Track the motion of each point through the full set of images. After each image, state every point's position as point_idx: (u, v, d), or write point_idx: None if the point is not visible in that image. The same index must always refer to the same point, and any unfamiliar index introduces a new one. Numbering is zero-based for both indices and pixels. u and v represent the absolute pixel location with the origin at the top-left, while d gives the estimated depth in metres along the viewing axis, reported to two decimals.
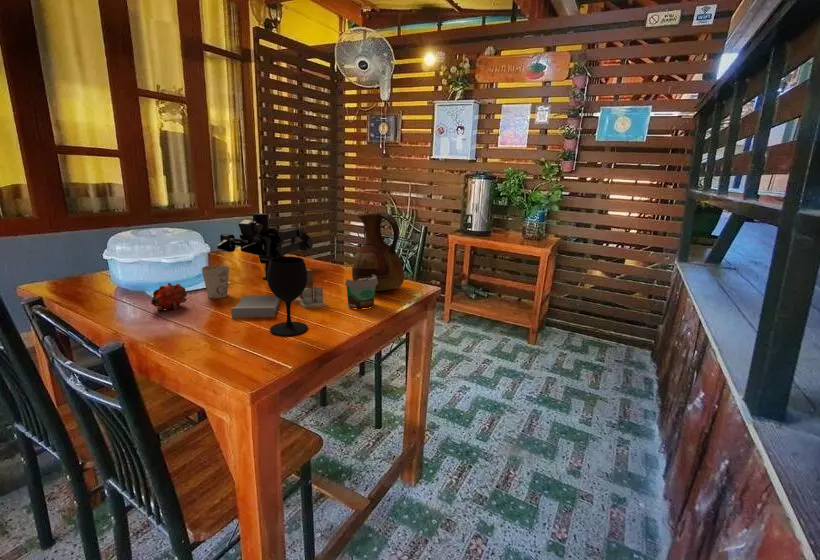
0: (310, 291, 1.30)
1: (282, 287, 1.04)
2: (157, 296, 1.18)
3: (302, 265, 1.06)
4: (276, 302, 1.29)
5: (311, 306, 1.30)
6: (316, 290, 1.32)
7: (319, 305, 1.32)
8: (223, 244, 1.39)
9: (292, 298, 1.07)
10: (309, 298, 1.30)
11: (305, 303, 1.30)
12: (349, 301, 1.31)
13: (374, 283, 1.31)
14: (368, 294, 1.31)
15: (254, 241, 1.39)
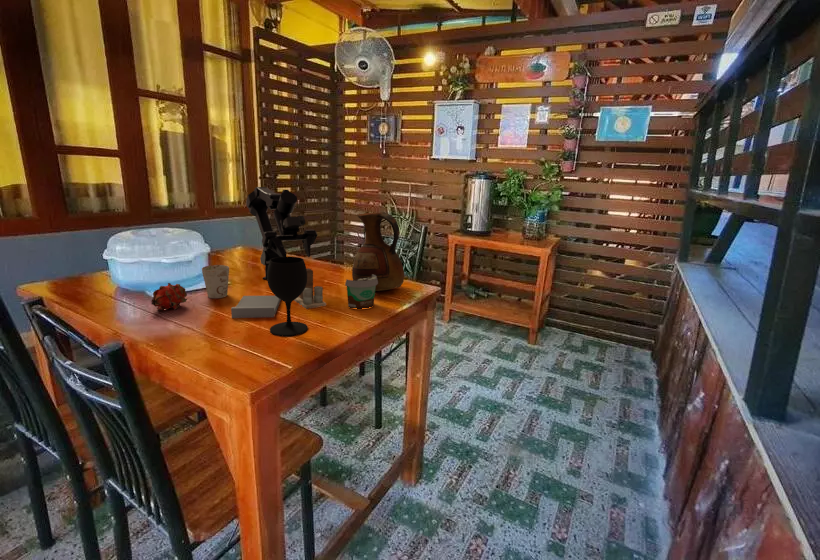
0: (310, 291, 1.30)
1: (283, 287, 1.04)
2: (157, 296, 1.18)
3: (302, 265, 1.06)
4: (276, 302, 1.29)
5: (311, 306, 1.30)
6: (316, 290, 1.32)
7: (319, 305, 1.32)
8: None
9: (292, 298, 1.07)
10: (309, 298, 1.30)
11: (305, 303, 1.30)
12: (349, 301, 1.31)
13: (374, 283, 1.31)
14: (368, 294, 1.31)
15: (308, 239, 1.44)
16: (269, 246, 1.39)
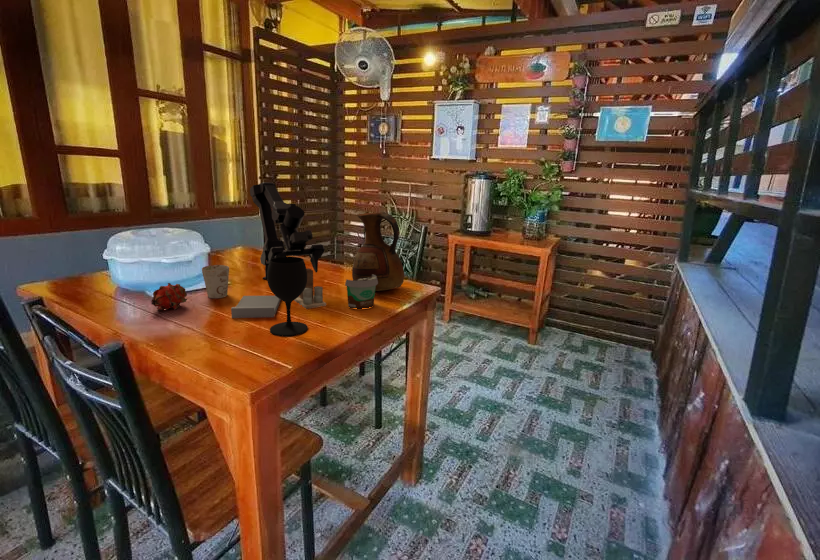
0: (310, 291, 1.30)
1: (283, 287, 1.04)
2: (157, 296, 1.18)
3: (302, 265, 1.06)
4: (276, 302, 1.29)
5: (311, 306, 1.30)
6: (316, 290, 1.32)
7: (319, 305, 1.32)
8: None
9: (292, 298, 1.07)
10: (309, 298, 1.30)
11: (305, 303, 1.30)
12: (349, 301, 1.31)
13: (374, 283, 1.31)
14: (368, 294, 1.31)
15: (316, 254, 1.40)
16: None
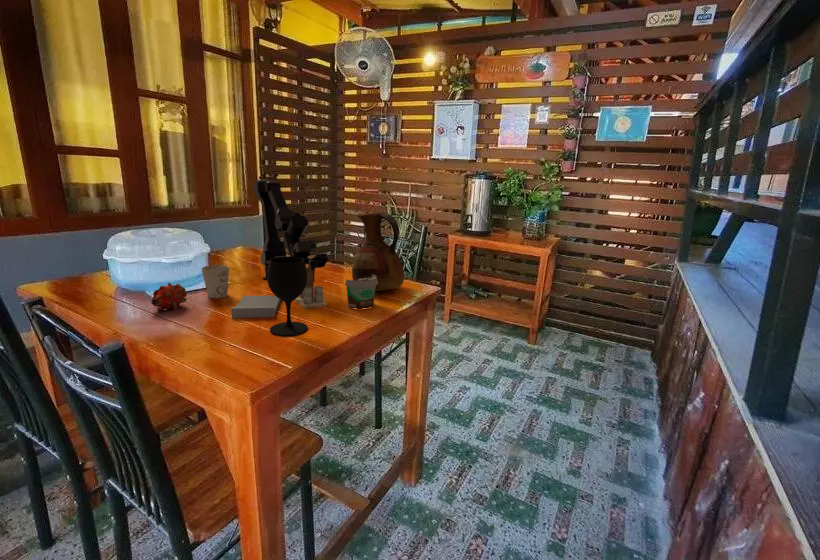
0: (310, 291, 1.30)
1: (283, 287, 1.04)
2: (157, 296, 1.18)
3: (302, 265, 1.06)
4: (276, 302, 1.29)
5: (311, 306, 1.30)
6: (316, 290, 1.32)
7: (319, 305, 1.32)
8: None
9: (292, 298, 1.07)
10: (309, 298, 1.30)
11: (305, 303, 1.30)
12: (349, 301, 1.31)
13: (374, 283, 1.31)
14: (368, 294, 1.31)
15: (312, 264, 1.37)
16: None
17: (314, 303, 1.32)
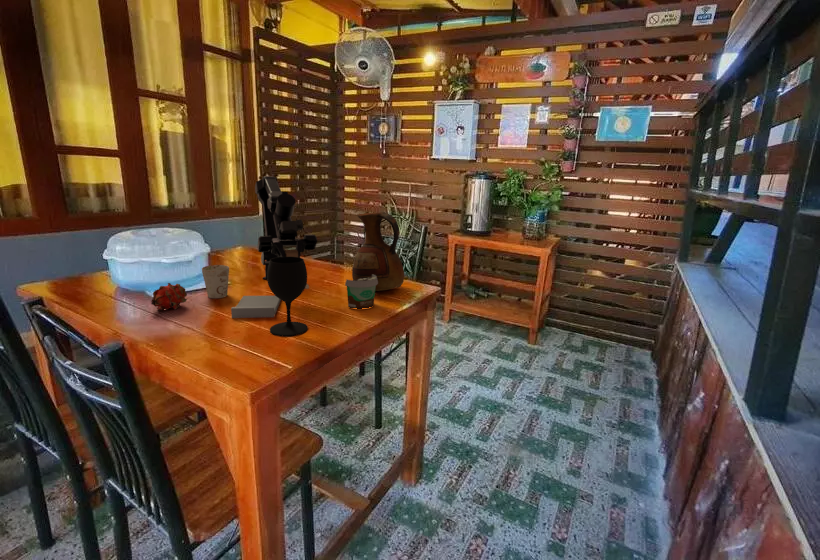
0: None
1: (283, 287, 1.04)
2: (157, 296, 1.18)
3: (302, 265, 1.06)
4: (276, 302, 1.29)
5: None
6: None
7: None
8: None
9: (292, 298, 1.07)
10: None
11: None
12: (349, 301, 1.31)
13: (374, 283, 1.31)
14: (368, 294, 1.31)
15: (299, 245, 1.33)
16: (273, 251, 1.32)
17: None
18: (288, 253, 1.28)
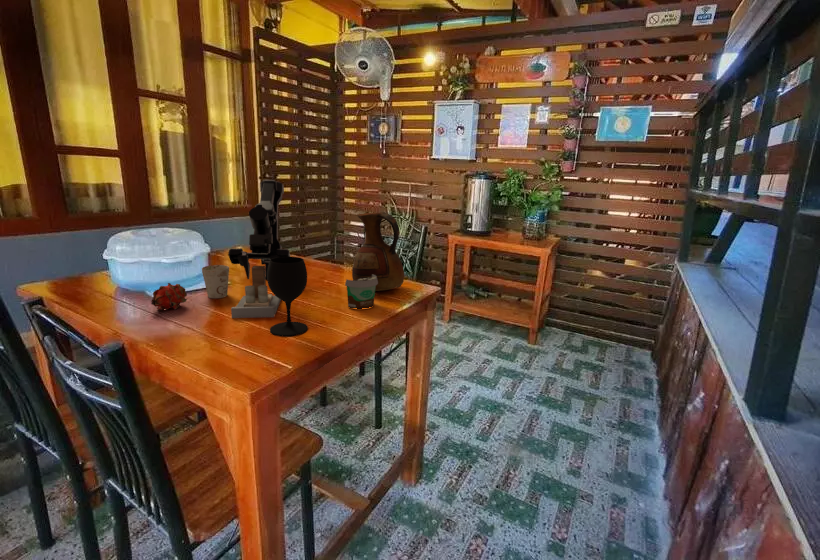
0: (250, 289, 1.23)
1: (283, 287, 1.04)
2: (157, 296, 1.18)
3: (302, 265, 1.06)
4: (276, 302, 1.29)
5: (250, 305, 1.23)
6: (258, 289, 1.24)
7: (259, 305, 1.24)
8: (248, 270, 1.28)
9: (292, 298, 1.07)
10: (249, 296, 1.24)
11: (246, 301, 1.24)
12: (349, 301, 1.31)
13: (374, 283, 1.31)
14: (368, 294, 1.31)
15: None
16: (241, 263, 1.31)
17: (255, 303, 1.25)
18: (253, 269, 1.27)
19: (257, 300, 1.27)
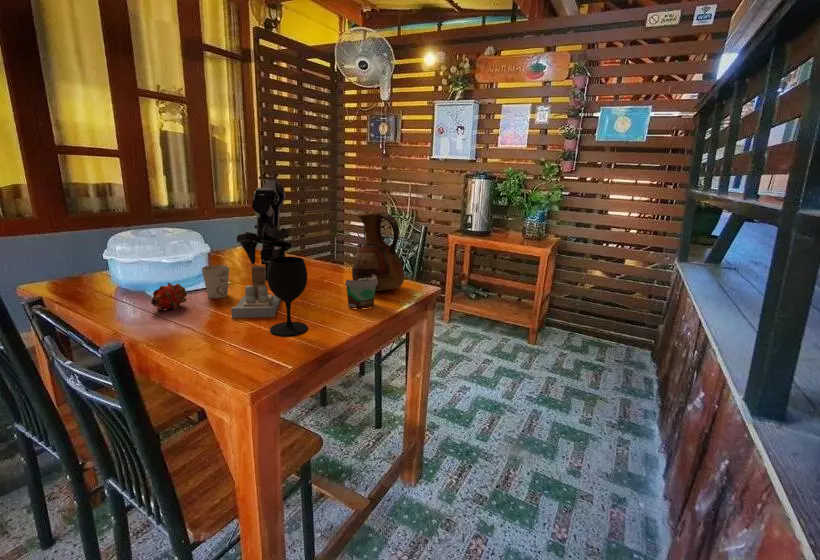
0: (250, 289, 1.23)
1: (283, 287, 1.04)
2: (157, 296, 1.18)
3: (302, 265, 1.06)
4: (276, 302, 1.29)
5: (250, 305, 1.23)
6: (258, 289, 1.24)
7: (259, 305, 1.24)
8: None
9: (292, 298, 1.07)
10: (249, 296, 1.24)
11: (246, 301, 1.24)
12: (349, 301, 1.31)
13: (374, 283, 1.31)
14: (368, 294, 1.31)
15: (282, 251, 1.44)
16: (243, 244, 1.35)
17: (255, 303, 1.25)
18: (253, 269, 1.27)
19: (257, 300, 1.27)
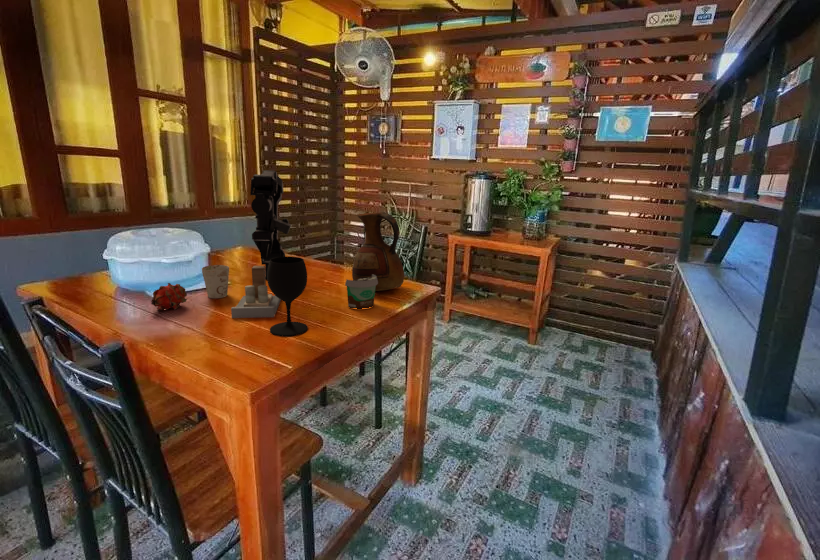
0: (250, 289, 1.23)
1: (283, 287, 1.04)
2: (157, 296, 1.18)
3: (302, 265, 1.06)
4: (276, 302, 1.29)
5: (250, 305, 1.23)
6: (258, 289, 1.24)
7: (259, 305, 1.24)
8: None
9: (292, 298, 1.07)
10: (249, 296, 1.24)
11: (246, 301, 1.24)
12: (349, 301, 1.31)
13: (374, 283, 1.31)
14: (368, 294, 1.31)
15: (274, 237, 1.47)
16: (258, 241, 1.34)
17: (255, 303, 1.25)
18: (253, 269, 1.27)
19: (257, 300, 1.27)
